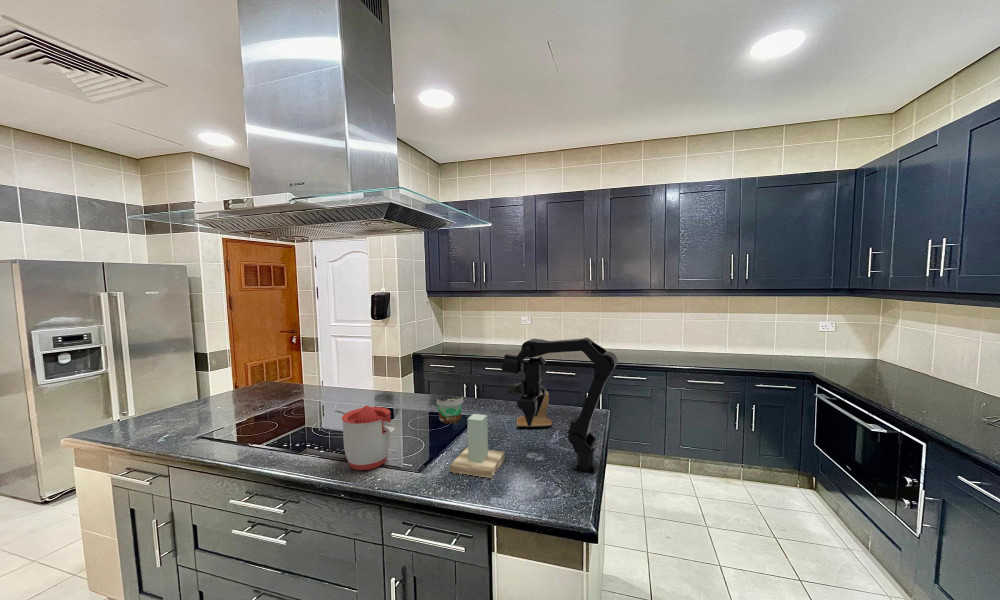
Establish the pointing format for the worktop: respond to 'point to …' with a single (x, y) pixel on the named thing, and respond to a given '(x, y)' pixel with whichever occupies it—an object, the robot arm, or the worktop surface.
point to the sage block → (477, 438)
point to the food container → (450, 410)
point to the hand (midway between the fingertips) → (532, 420)
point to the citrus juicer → (367, 436)
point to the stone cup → (540, 418)
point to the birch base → (478, 464)
